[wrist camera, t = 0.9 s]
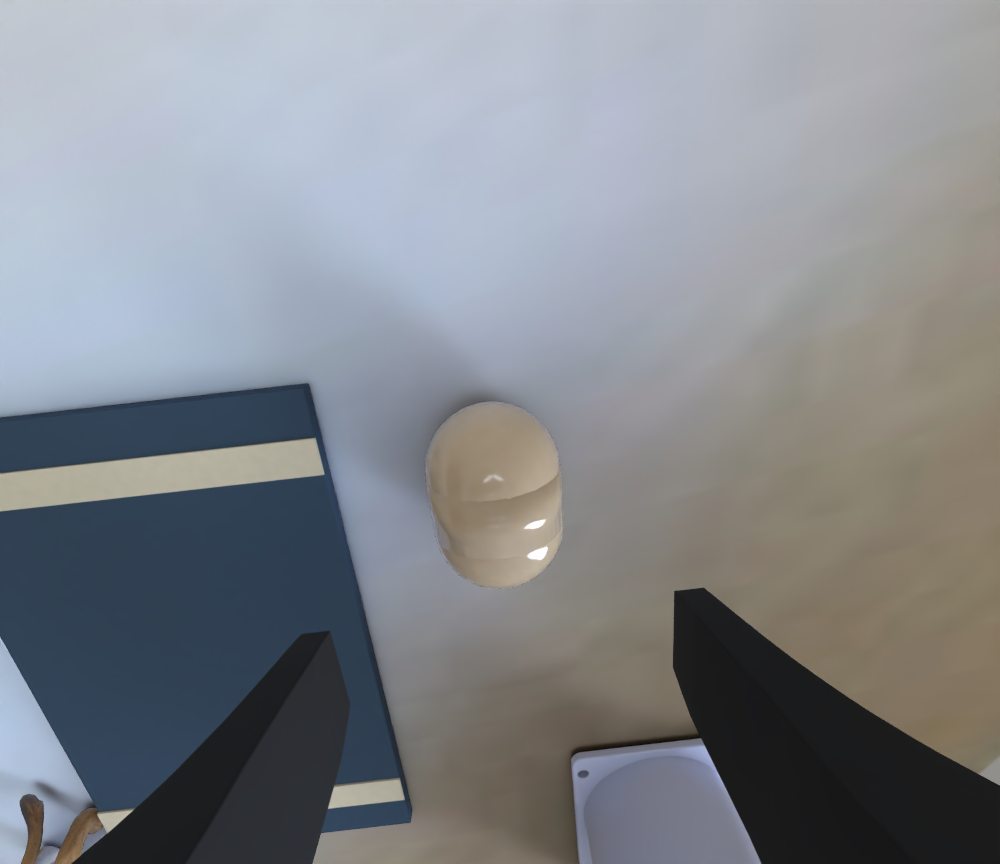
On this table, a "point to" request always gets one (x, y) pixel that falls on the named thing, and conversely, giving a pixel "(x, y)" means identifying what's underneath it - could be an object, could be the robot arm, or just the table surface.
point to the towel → (181, 585)
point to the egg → (495, 494)
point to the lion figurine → (53, 860)
